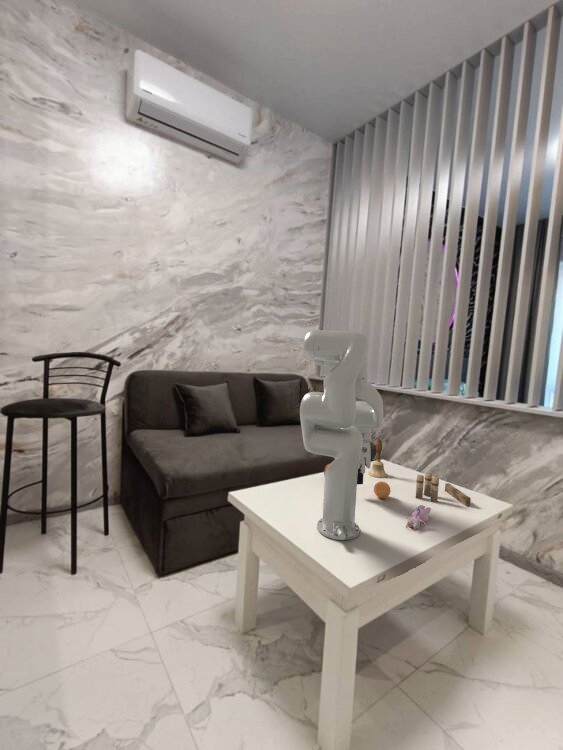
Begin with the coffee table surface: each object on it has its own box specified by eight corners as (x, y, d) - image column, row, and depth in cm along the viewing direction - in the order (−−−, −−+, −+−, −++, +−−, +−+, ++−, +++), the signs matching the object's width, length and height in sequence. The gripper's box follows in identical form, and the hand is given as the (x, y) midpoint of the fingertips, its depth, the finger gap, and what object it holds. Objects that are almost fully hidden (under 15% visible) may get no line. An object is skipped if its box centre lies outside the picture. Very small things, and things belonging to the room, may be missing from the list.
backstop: (470, 506, 128) (470, 498, 127) (466, 506, 127) (466, 498, 127) (448, 490, 141) (449, 483, 141) (444, 490, 141) (445, 483, 141)
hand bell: (378, 479, 151) (380, 442, 150) (364, 473, 158) (366, 438, 157) (391, 476, 155) (393, 440, 154) (377, 470, 162) (379, 436, 161)
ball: (392, 501, 129) (393, 485, 129) (376, 500, 129) (377, 484, 128) (386, 494, 135) (387, 479, 135) (371, 494, 134) (372, 478, 134)
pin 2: (438, 502, 130) (440, 479, 129) (432, 502, 130) (434, 479, 129) (435, 499, 132) (436, 477, 132) (428, 499, 132) (430, 477, 132)
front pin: (423, 499, 132) (425, 477, 131) (417, 499, 132) (418, 477, 131) (420, 496, 134) (422, 474, 134) (414, 496, 134) (415, 474, 134)
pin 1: (431, 496, 135) (433, 474, 134) (425, 496, 135) (427, 474, 134) (428, 493, 137) (430, 472, 137) (422, 493, 137) (424, 472, 137)
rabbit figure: (420, 538, 106) (436, 514, 117) (420, 520, 105) (437, 498, 116) (400, 531, 110) (417, 508, 121) (400, 513, 109) (417, 492, 120)
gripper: (377, 441, 122) (374, 492, 124) (364, 430, 137) (361, 475, 139) (356, 441, 122) (354, 492, 124) (345, 429, 137) (343, 475, 138)
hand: (358, 483), depth 131 cm, fingers closed
